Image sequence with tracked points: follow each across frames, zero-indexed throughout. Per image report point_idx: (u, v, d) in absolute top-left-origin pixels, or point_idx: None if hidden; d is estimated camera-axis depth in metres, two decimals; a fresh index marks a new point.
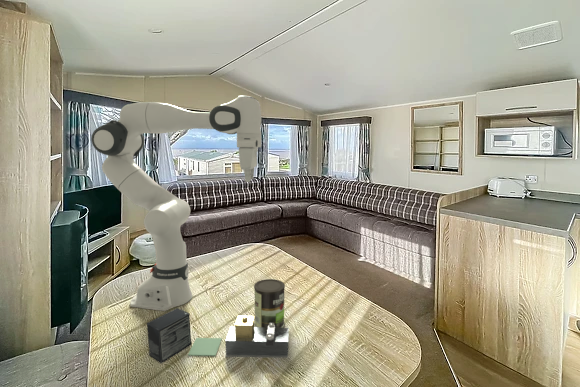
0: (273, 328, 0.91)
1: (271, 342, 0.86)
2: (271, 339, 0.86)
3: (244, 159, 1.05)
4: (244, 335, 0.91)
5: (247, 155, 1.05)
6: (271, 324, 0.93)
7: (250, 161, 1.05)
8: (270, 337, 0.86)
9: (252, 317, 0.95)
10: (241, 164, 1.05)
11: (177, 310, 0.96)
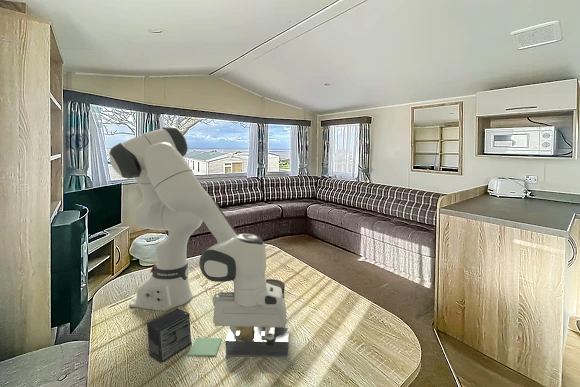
0: (273, 328, 0.91)
1: (271, 342, 0.86)
2: (271, 339, 0.86)
3: (285, 313, 0.87)
4: (244, 335, 0.91)
5: (285, 307, 0.87)
6: None
7: None
8: (270, 337, 0.86)
9: None
10: None
11: (177, 310, 0.96)
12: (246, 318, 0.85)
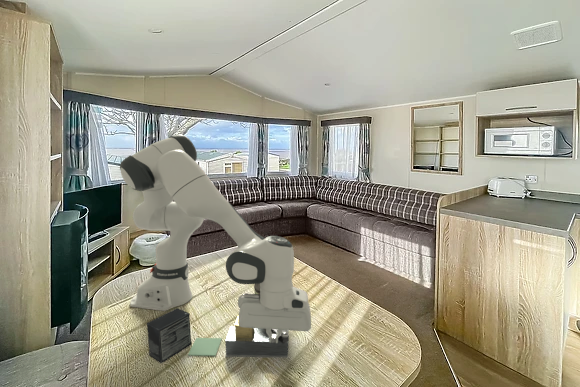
0: None
1: (287, 338, 0.88)
2: (288, 335, 0.87)
3: None
4: (244, 335, 0.91)
5: None
6: None
7: None
8: (287, 333, 0.87)
9: None
10: None
11: (177, 310, 0.96)
12: (271, 320, 0.85)
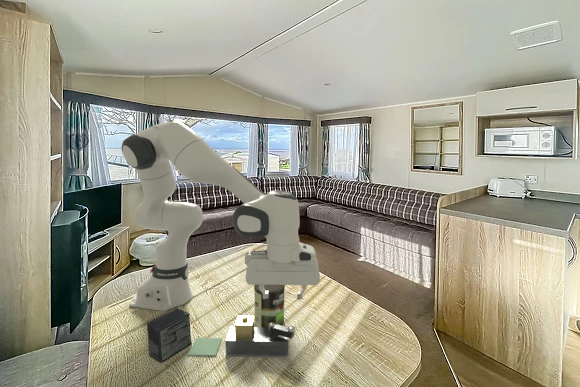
0: (277, 325, 0.93)
1: (293, 332, 0.91)
2: None
3: None
4: (244, 335, 0.91)
5: None
6: (272, 324, 0.93)
7: None
8: (294, 328, 0.90)
9: (252, 317, 0.95)
10: (319, 278, 0.85)
11: (177, 310, 0.96)
12: (279, 275, 0.84)
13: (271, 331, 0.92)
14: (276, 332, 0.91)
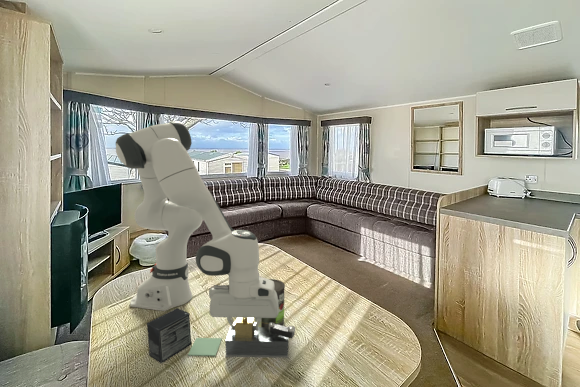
0: (277, 325, 0.93)
1: (293, 332, 0.91)
2: None
3: (278, 305, 0.92)
4: (243, 335, 0.91)
5: (277, 299, 0.93)
6: (272, 324, 0.93)
7: (278, 304, 0.94)
8: (294, 328, 0.90)
9: None
10: (278, 312, 0.91)
11: (177, 310, 0.96)
12: (240, 309, 0.91)
13: (271, 331, 0.92)
14: (276, 332, 0.91)
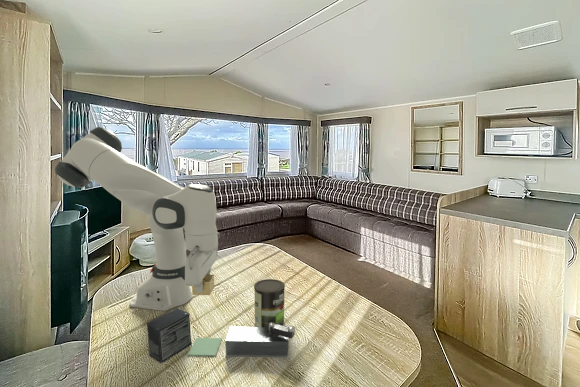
0: (277, 325, 0.93)
1: (293, 332, 0.91)
2: None
3: None
4: (212, 288, 0.92)
5: None
6: (272, 324, 0.93)
7: None
8: (294, 328, 0.90)
9: None
10: None
11: (177, 310, 0.96)
12: (207, 263, 0.90)
13: (271, 331, 0.92)
14: (276, 332, 0.91)
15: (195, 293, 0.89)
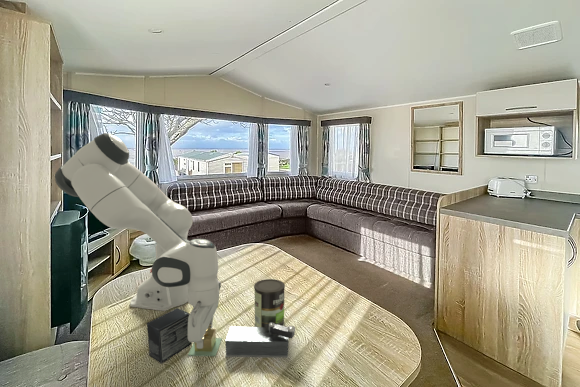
0: (277, 325, 0.93)
1: (293, 332, 0.91)
2: None
3: None
4: (213, 343, 0.95)
5: None
6: (272, 324, 0.93)
7: None
8: (294, 328, 0.90)
9: None
10: None
11: (177, 310, 0.96)
12: (209, 315, 0.92)
13: (271, 331, 0.92)
14: (276, 332, 0.91)
15: (197, 349, 0.92)
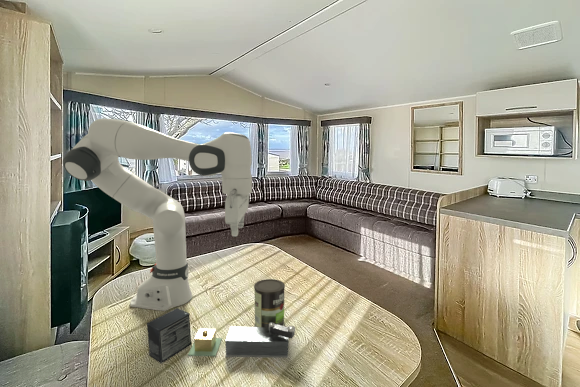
0: (277, 325, 0.93)
1: (293, 332, 0.91)
2: None
3: None
4: (213, 343, 0.95)
5: None
6: (272, 324, 0.93)
7: None
8: (294, 328, 0.90)
9: (201, 329, 0.96)
10: None
11: (177, 310, 0.96)
12: (242, 208, 0.95)
13: (271, 331, 0.92)
14: (276, 332, 0.91)
15: (197, 349, 0.92)
